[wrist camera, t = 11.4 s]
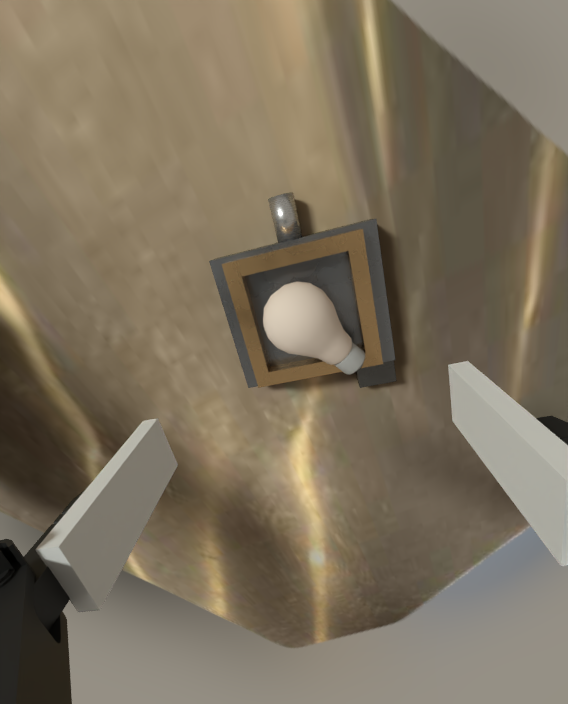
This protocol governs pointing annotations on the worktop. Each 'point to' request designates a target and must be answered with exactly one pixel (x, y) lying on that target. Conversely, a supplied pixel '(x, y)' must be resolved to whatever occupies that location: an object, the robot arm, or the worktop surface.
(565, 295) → the worktop surface
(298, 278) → the grey brown-rimmed square tray
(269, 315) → the light bulb
